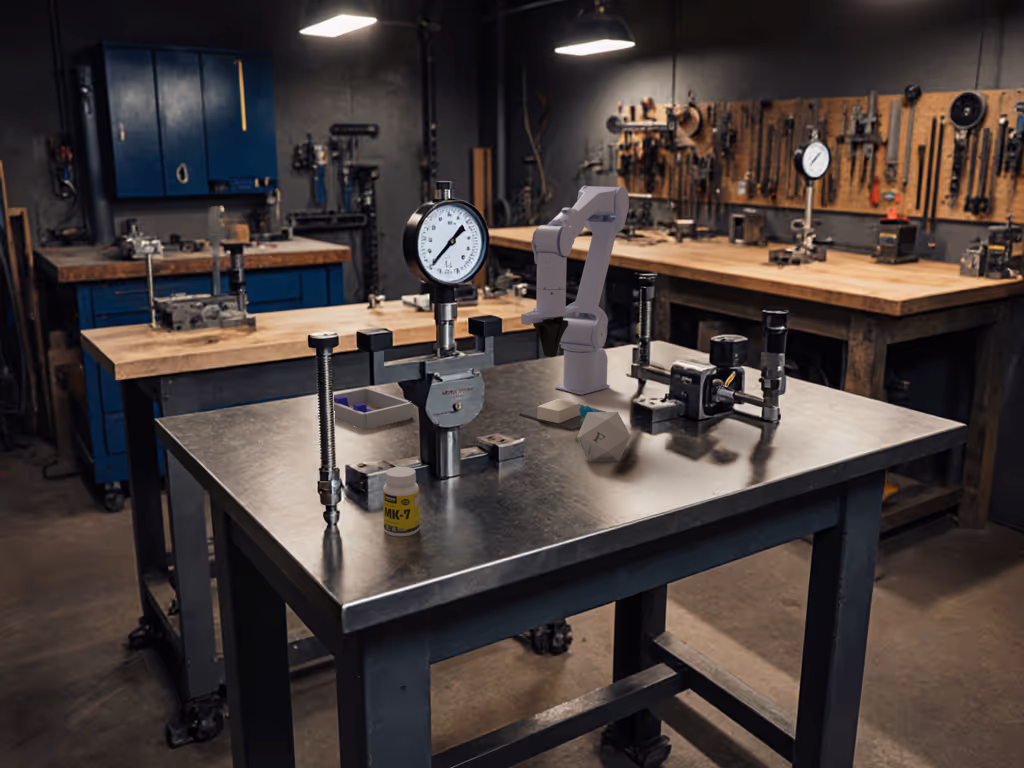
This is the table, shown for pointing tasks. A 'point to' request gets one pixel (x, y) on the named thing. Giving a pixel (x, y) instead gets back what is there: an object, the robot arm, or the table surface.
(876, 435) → the table surface
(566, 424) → the mat
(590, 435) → the die
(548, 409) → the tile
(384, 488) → the supplement bottle
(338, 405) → the parts tray
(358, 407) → the blue stepped block
